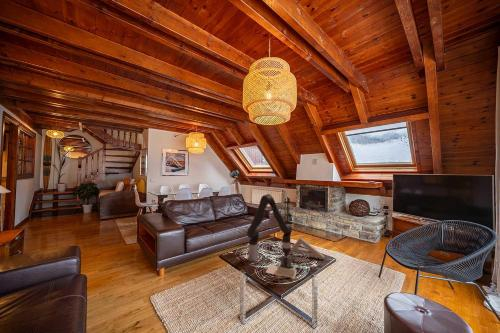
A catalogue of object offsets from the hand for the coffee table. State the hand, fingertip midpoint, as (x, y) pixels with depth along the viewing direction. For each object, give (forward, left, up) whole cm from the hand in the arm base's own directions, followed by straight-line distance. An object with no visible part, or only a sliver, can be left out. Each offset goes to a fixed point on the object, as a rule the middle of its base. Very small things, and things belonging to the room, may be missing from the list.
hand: (286, 263), depth 178 cm
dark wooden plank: (0, 0, -8) cm, 8 cm away
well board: (-5, 0, -9) cm, 10 cm away
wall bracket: (+14, +40, -9) cm, 43 cm away
